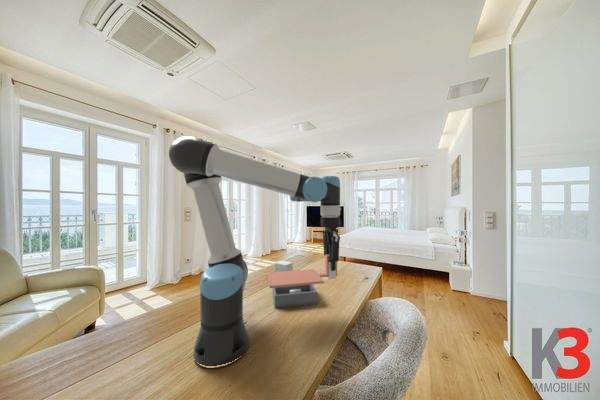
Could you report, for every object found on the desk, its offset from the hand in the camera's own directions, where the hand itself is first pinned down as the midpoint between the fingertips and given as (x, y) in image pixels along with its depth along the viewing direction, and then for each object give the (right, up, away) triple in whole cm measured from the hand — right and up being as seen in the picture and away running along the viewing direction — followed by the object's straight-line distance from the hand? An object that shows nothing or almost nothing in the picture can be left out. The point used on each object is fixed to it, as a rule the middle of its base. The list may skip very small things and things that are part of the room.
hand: (331, 276), depth 81 cm
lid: (-11, 0, -2) cm, 11 cm away
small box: (-21, -14, +30) cm, 39 cm away
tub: (-15, -14, +11) cm, 23 cm away
